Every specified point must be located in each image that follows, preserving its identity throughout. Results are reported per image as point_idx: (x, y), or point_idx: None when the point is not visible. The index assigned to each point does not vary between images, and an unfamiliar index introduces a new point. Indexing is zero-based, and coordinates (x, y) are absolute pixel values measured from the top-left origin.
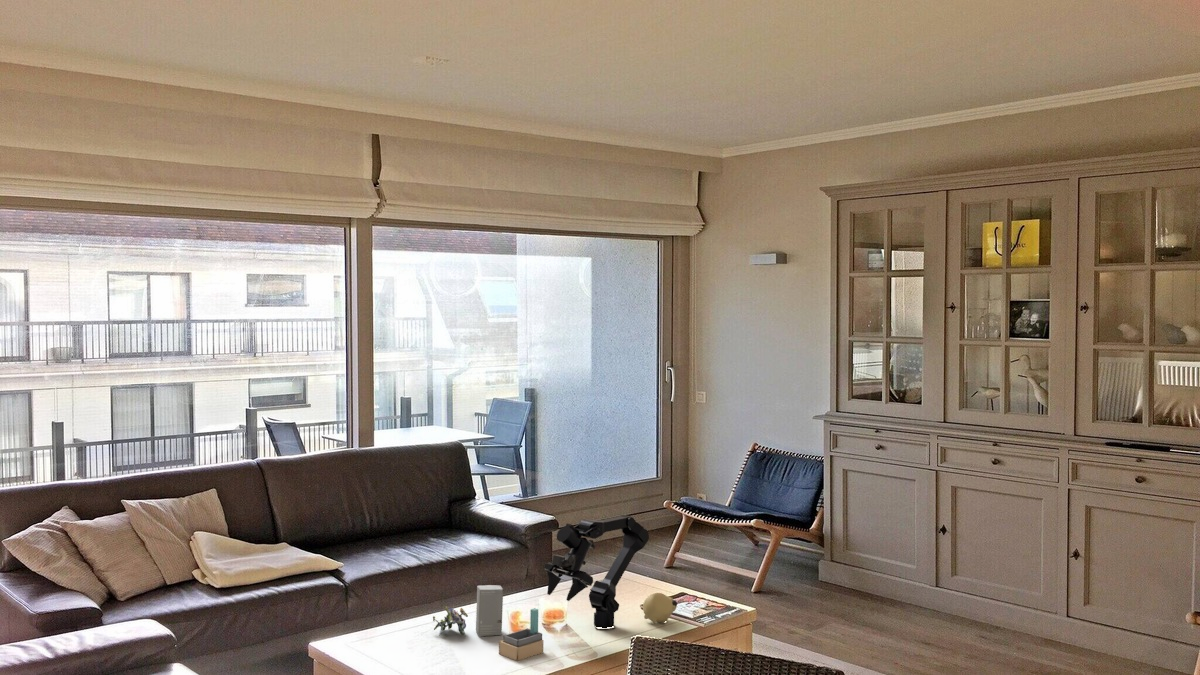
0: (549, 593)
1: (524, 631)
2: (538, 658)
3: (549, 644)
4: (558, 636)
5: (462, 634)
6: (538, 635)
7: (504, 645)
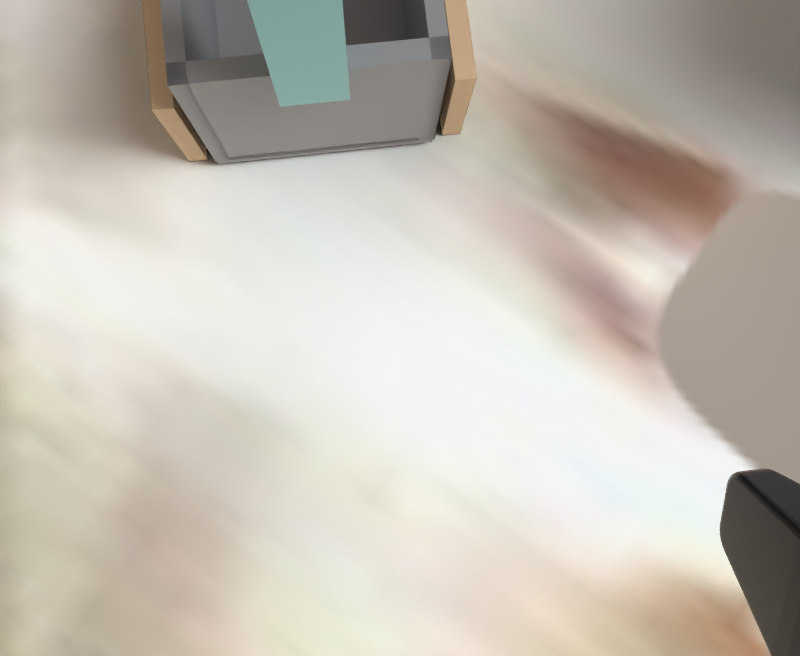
0: (741, 530)
1: (421, 3)
2: (93, 38)
3: (348, 350)
4: (497, 579)
5: None
6: (164, 29)
7: None
